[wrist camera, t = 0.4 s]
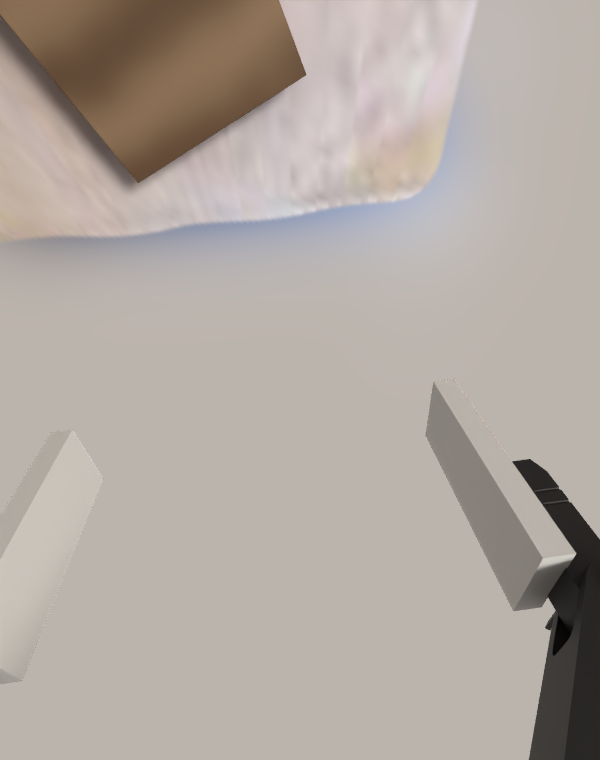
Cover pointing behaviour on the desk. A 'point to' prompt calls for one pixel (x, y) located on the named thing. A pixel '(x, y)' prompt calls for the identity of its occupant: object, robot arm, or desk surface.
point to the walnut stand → (159, 66)
